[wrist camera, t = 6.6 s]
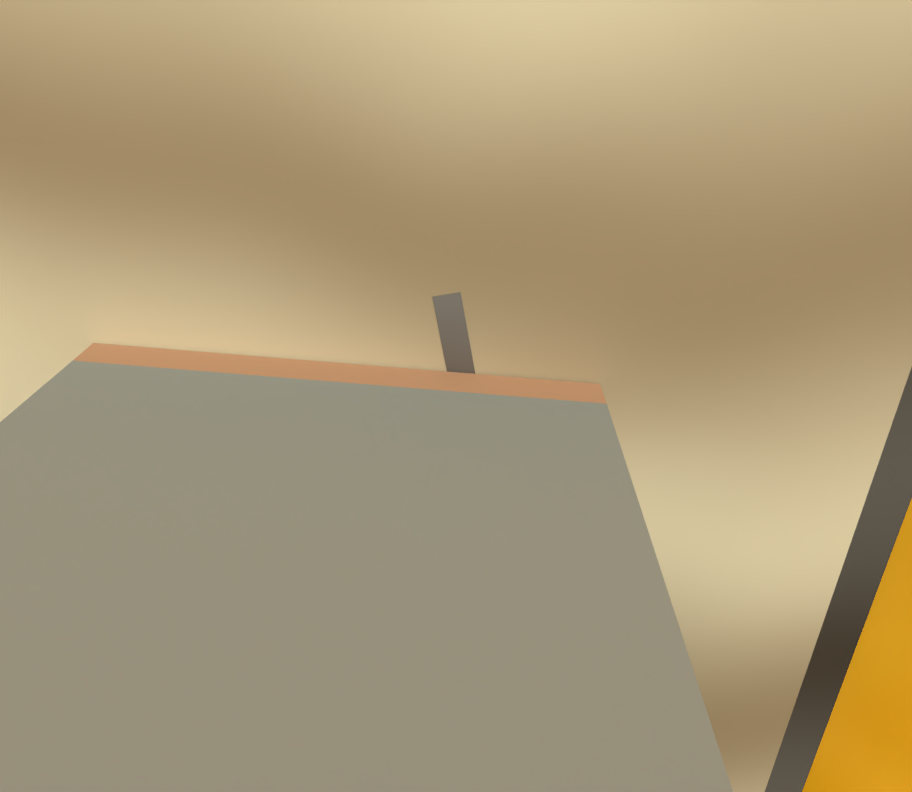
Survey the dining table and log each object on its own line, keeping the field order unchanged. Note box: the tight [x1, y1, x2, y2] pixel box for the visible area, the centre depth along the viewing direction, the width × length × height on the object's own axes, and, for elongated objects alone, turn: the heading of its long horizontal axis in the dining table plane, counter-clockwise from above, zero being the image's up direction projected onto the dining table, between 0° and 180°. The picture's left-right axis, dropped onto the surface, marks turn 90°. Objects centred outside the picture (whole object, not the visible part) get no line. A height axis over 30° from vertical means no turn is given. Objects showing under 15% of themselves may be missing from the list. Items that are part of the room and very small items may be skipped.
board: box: [0, 0, 912, 792], centre depth 12 cm, size 22×15×2 cm
